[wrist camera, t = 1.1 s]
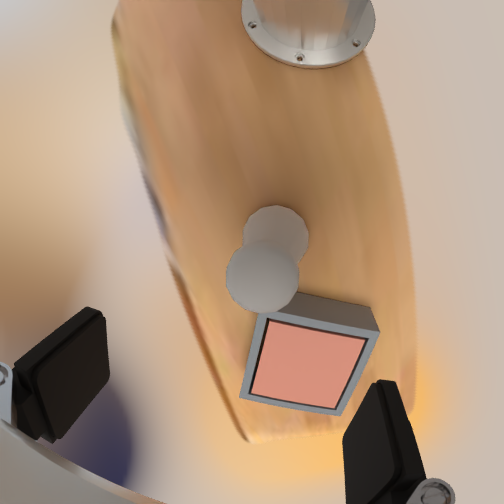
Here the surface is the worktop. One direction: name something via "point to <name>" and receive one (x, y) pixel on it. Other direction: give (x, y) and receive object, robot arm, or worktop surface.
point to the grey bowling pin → (268, 260)
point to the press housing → (322, 317)
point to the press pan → (305, 363)
